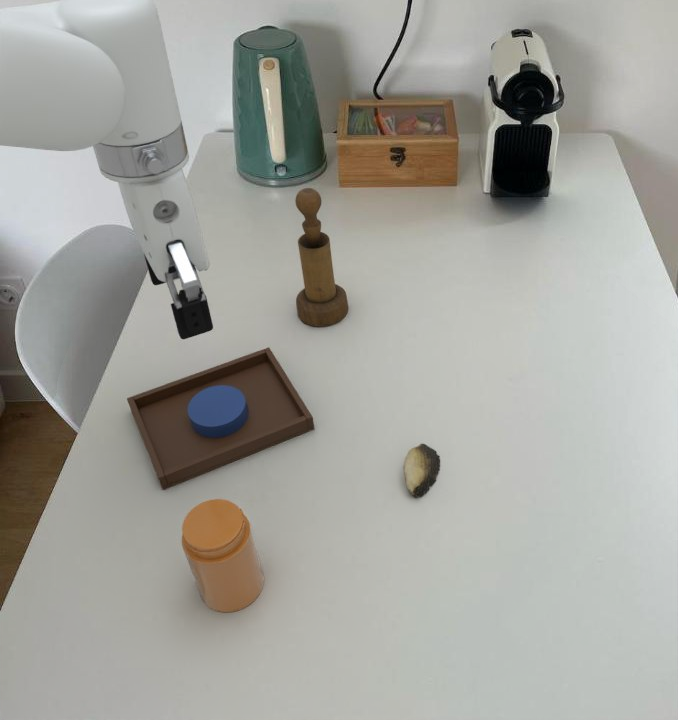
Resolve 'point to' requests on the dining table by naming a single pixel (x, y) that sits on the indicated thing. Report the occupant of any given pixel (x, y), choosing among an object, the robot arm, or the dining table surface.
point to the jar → (222, 555)
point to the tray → (202, 454)
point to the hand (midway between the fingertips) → (181, 305)
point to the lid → (218, 411)
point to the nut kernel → (421, 469)
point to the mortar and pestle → (317, 268)
